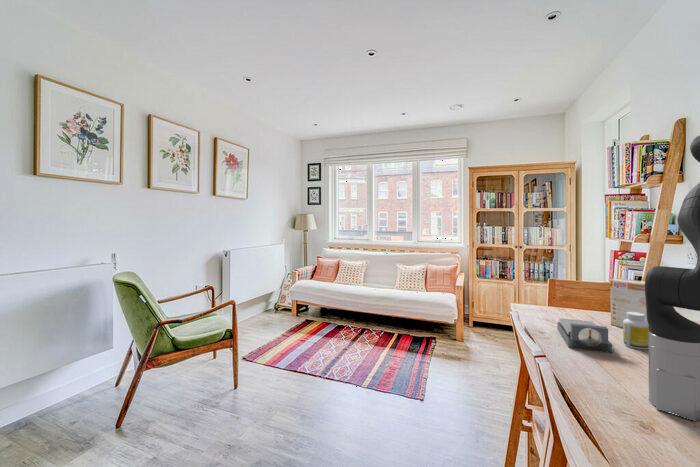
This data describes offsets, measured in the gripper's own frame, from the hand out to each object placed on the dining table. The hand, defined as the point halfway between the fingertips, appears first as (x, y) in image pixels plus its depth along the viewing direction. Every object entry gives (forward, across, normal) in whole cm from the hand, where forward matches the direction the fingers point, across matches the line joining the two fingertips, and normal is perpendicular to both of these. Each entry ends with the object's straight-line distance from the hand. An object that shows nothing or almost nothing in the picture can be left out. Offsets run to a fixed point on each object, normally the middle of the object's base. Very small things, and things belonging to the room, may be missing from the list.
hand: (685, 295), depth 95 cm
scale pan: (+30, +5, -7) cm, 31 cm away
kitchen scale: (+32, +6, -4) cm, 33 cm away
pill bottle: (+22, 0, +6) cm, 23 cm away
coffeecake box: (+24, -23, +5) cm, 33 cm away
